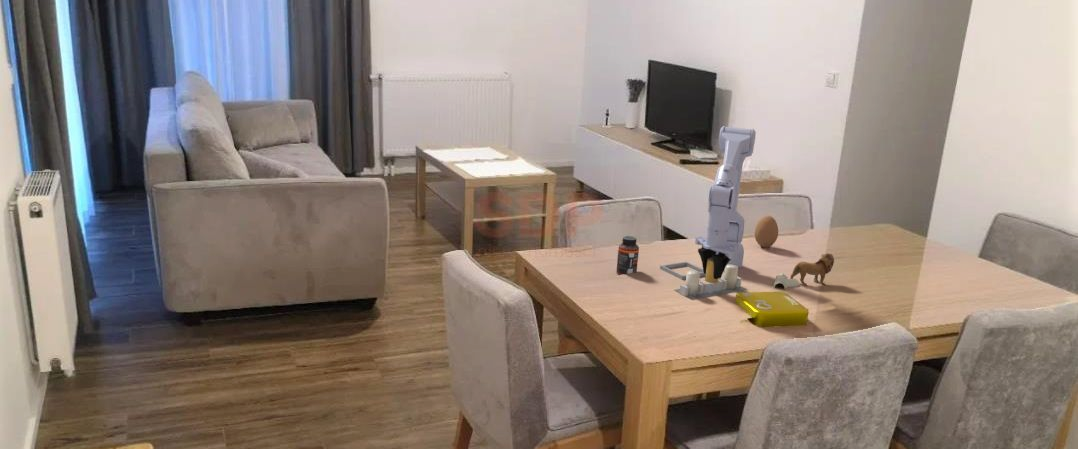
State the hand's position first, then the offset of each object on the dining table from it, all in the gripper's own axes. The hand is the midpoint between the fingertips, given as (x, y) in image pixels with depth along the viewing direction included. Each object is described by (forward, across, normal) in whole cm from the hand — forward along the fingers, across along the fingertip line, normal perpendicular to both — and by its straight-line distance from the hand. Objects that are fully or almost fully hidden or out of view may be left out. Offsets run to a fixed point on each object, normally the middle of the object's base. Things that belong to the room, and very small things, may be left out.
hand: (712, 275), depth 238 cm
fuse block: (+6, 0, 0) cm, 6 cm away
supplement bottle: (+6, -23, -12) cm, 27 cm away
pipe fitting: (+6, +6, +24) cm, 25 cm away
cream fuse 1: (+4, 0, -7) cm, 8 cm away
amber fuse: (+1, 0, 0) cm, 1 cm away
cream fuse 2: (+4, 0, +7) cm, 8 cm away
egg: (+6, -28, +49) cm, 57 cm away
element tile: (+6, +18, +5) cm, 20 cm away
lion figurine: (+6, +4, +36) cm, 37 cm away
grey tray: (+6, -15, +3) cm, 16 cm away
